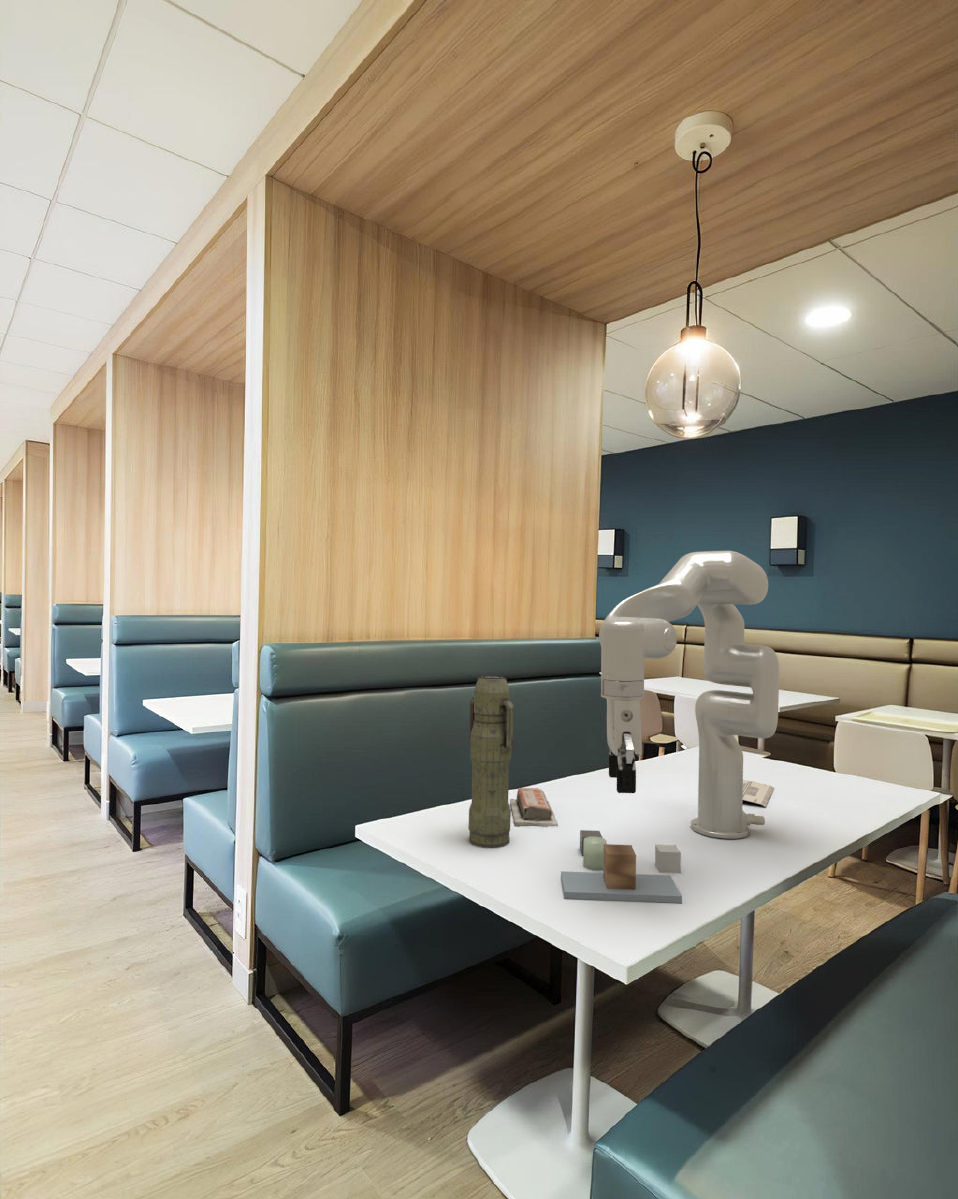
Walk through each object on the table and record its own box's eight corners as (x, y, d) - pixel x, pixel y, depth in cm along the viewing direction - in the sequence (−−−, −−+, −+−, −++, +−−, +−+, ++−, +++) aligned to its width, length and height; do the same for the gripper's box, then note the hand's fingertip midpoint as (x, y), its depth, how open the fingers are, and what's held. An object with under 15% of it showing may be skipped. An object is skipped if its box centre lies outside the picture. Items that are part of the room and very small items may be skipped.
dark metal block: (599, 850, 143) (599, 830, 143) (601, 857, 139) (602, 837, 139) (579, 849, 143) (580, 830, 143) (581, 856, 139) (582, 836, 139)
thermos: (480, 829, 154) (483, 673, 154) (523, 841, 146) (526, 677, 147) (454, 839, 147) (457, 676, 147) (498, 853, 140) (501, 680, 140)
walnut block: (631, 878, 125) (631, 845, 125) (635, 889, 120) (636, 855, 120) (603, 877, 125) (603, 844, 125) (606, 888, 120) (607, 854, 120)
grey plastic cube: (675, 865, 135) (675, 845, 135) (680, 873, 131) (680, 852, 131) (654, 864, 135) (655, 844, 135) (659, 872, 131) (659, 851, 131)
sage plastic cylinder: (604, 862, 136) (605, 836, 136) (607, 871, 131) (608, 844, 131) (582, 861, 136) (582, 836, 136) (584, 870, 132) (584, 844, 132)
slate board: (669, 882, 127) (670, 875, 127) (681, 903, 118) (682, 896, 118) (560, 877, 128) (560, 871, 128) (564, 898, 119) (564, 891, 119)
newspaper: (728, 784, 199) (729, 776, 199) (773, 795, 193) (774, 786, 193) (714, 803, 179) (715, 793, 179) (764, 815, 173) (765, 806, 173)
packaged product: (509, 786, 174) (548, 786, 175) (509, 805, 174) (548, 805, 175) (515, 807, 156) (558, 808, 157) (514, 828, 156) (558, 829, 157)
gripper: (653, 696, 114) (652, 799, 114) (635, 682, 131) (634, 772, 131) (607, 696, 114) (607, 798, 114) (595, 682, 132) (594, 771, 132)
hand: (621, 784), depth 123 cm, fingers open, 9 cm apart
